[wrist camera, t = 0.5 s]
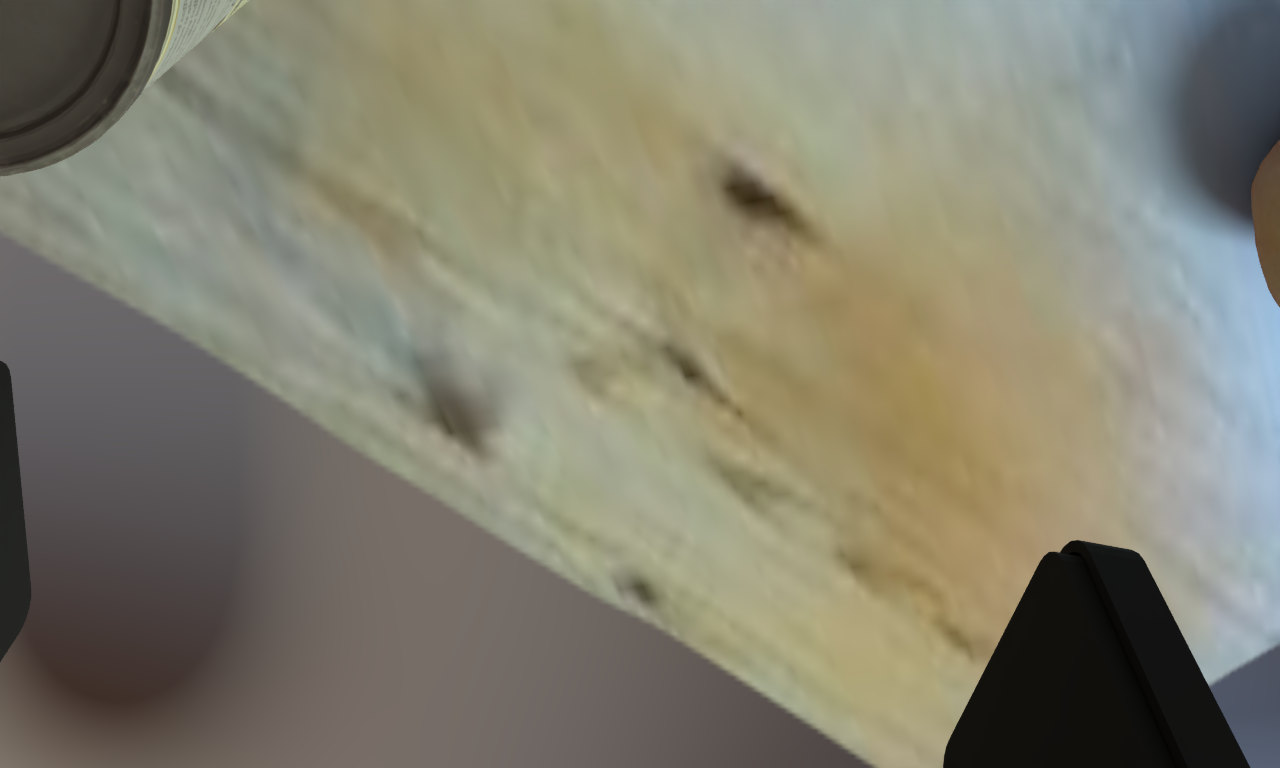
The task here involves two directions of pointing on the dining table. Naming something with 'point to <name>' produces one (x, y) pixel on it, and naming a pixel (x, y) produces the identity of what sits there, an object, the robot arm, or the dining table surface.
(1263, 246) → the fruit
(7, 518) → the robot arm
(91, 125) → the coffee can
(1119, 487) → the dining table surface
